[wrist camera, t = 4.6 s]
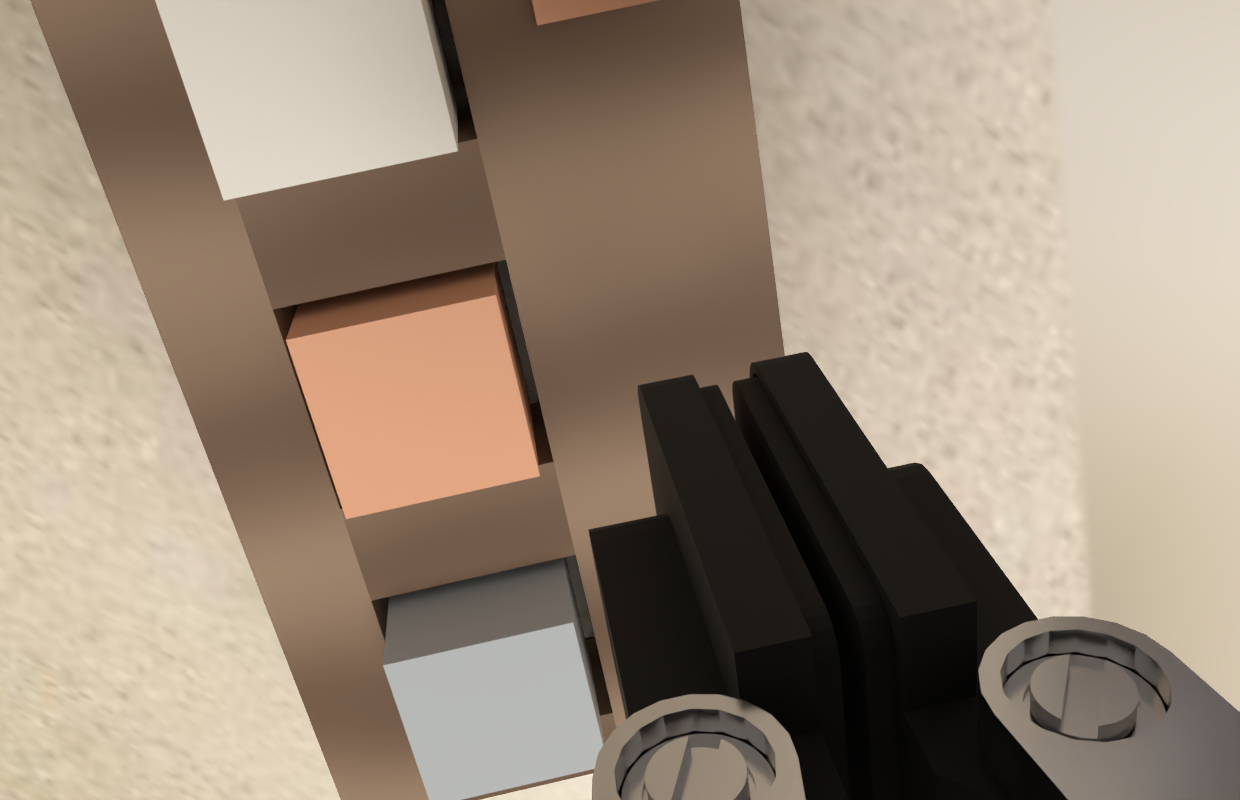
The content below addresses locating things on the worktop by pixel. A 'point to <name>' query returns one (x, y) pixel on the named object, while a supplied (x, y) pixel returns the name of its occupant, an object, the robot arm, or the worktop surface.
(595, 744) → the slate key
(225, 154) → the off-white key
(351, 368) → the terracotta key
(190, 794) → the worktop surface
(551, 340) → the key panel
